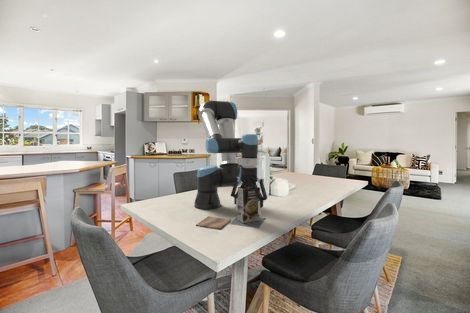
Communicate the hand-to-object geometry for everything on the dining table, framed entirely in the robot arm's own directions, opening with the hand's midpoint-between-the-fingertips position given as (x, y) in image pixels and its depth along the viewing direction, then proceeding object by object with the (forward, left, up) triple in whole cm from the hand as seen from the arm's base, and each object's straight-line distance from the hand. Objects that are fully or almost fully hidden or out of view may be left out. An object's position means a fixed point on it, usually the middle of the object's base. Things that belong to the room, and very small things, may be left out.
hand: (248, 212), depth 112 cm
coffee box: (0, 0, -4) cm, 4 cm away
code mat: (0, 0, -4) cm, 4 cm away
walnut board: (-14, -9, -4) cm, 17 cm away
